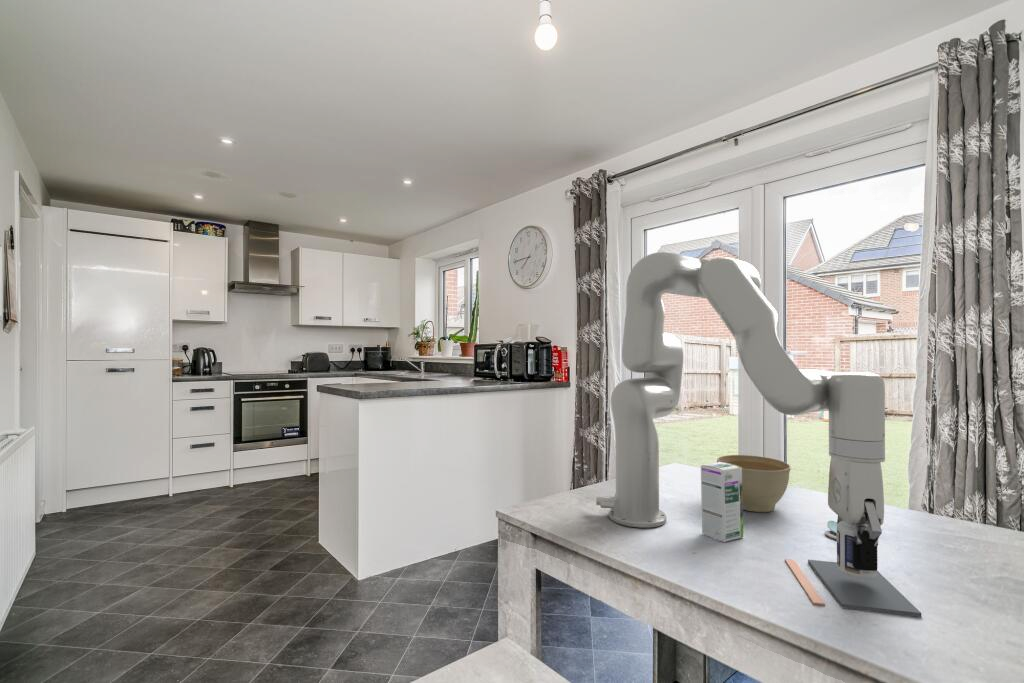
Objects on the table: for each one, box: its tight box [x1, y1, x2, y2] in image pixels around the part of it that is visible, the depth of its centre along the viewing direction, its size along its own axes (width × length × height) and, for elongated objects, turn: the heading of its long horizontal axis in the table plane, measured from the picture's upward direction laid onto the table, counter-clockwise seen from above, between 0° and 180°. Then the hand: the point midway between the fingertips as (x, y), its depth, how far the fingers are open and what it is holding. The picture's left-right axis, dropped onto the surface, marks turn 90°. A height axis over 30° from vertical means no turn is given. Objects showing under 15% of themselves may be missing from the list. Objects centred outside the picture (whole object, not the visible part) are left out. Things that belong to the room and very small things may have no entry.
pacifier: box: [824, 520, 837, 541], centre depth 101 cm, size 7×6×6 cm
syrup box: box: [700, 462, 744, 543], centre depth 102 cm, size 6×6×14 cm
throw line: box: [784, 558, 826, 607], centre depth 82 cm, size 2×16×1 cm, turn 165°
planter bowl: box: [716, 454, 792, 513], centre depth 121 cm, size 16×16×11 cm
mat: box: [807, 559, 922, 618], centre depth 80 cm, size 10×16×1 cm, turn 165°
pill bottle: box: [836, 519, 878, 579], centre depth 81 cm, size 5×5×10 cm
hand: (856, 559), depth 81 cm, fingers closed on pill bottle, 5 cm apart
